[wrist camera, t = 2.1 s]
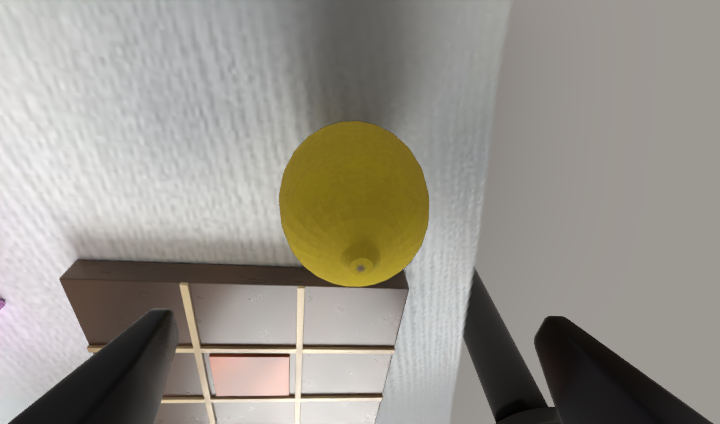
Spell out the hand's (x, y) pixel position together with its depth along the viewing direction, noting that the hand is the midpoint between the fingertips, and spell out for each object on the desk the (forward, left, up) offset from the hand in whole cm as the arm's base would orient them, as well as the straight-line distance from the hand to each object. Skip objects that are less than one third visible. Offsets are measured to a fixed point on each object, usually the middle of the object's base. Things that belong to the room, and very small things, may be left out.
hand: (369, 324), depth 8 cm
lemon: (0, 0, -10) cm, 10 cm away
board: (+5, +15, -10) cm, 19 cm away
